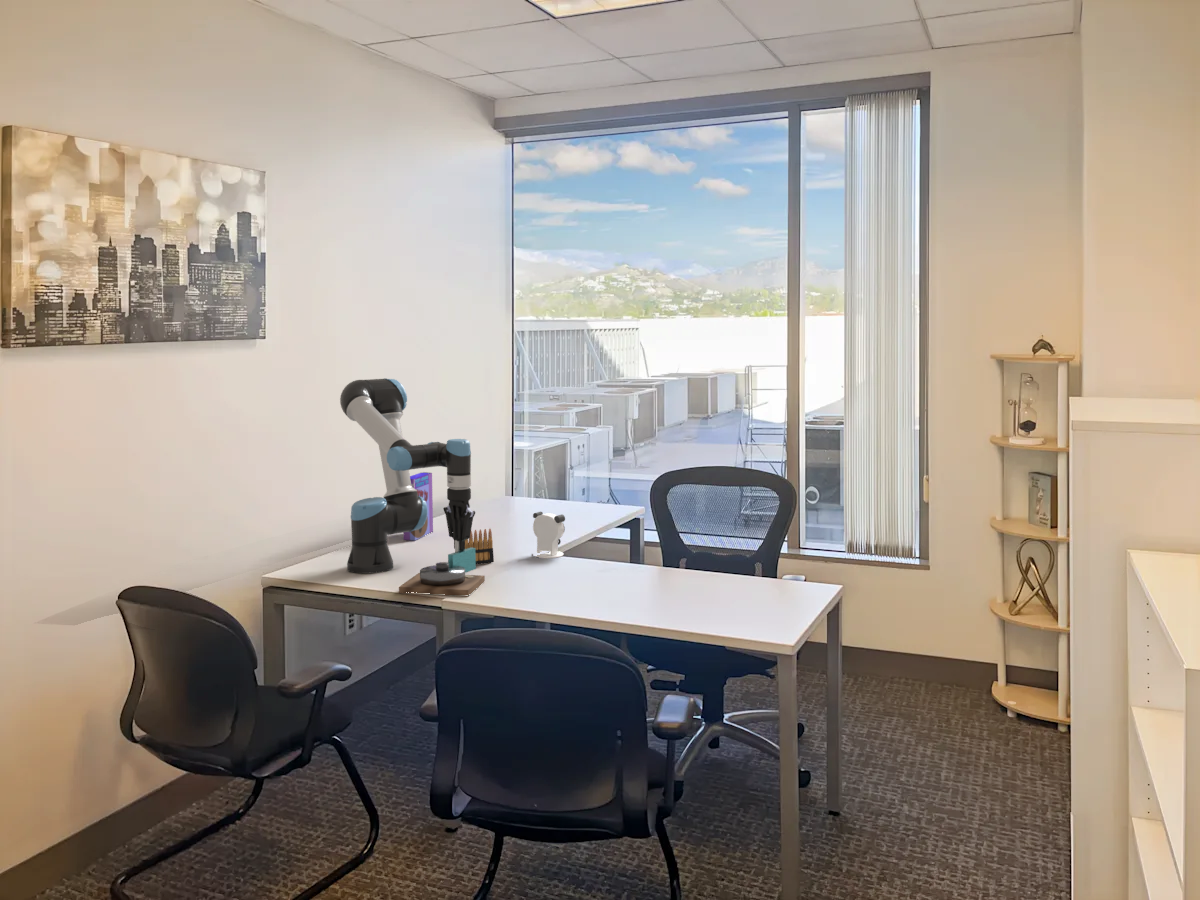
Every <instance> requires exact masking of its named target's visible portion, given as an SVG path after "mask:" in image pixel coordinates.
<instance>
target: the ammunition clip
mask: <svg viewBox="0 0 1200 900" xmlns="http://www.w3.org/2000/svg"><path fill="white" fill-rule="evenodd" d="M471 547H472V548H475V554H476V565H482V564H481V563H485V564H492V563H491V562H495V561H494V560H495V559H494V558H495V557H494V556H495V555H494V548H493V547H494V545H493V533H492V528H489V529H488V533H487V529H486V528H484V530H483V533H482V529H479V531H478V532H477V529H475V530H474V531H473V532H472V530H471V533H470V538H469V539H466V540H465V549H467V548H471Z"/></svg>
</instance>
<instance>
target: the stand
mask: <svg viewBox="0 0 1200 900" xmlns="http://www.w3.org/2000/svg"><path fill="white" fill-rule="evenodd" d="M485 577H486V575H478V574H477V575H475V574H465V580H464V581H462V582H459V583H455V584H449V585H431V584H425V583H422V582H421V581H420V572H417V574H415V575H414V576H411V578H409V579H408V580H407V581H405V582H404V583H403V584H401V585H400V586H399V587H398V593H399V594H404V593H406V592H407V593H408V592H409V593H411V592H414V593H416V592H417V593H430V594H445V595H444V596H447V595H469V594H471V593H472V592H473V591H474V590H475V589H476V588H477V589H478V588H479V586H480V585H481V584H482V583H483V582H484V581H485V582H486V578H485ZM485 582H484V583H485ZM484 583H483V584H484ZM483 584H482V585H483ZM482 585H481V586H482ZM481 586H480V587H481ZM477 589H476V590H477ZM476 590H475V591H476ZM475 591H474V592H475ZM474 592H473V593H474ZM473 593H472V594H473ZM472 594H471V595H472Z"/></svg>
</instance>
